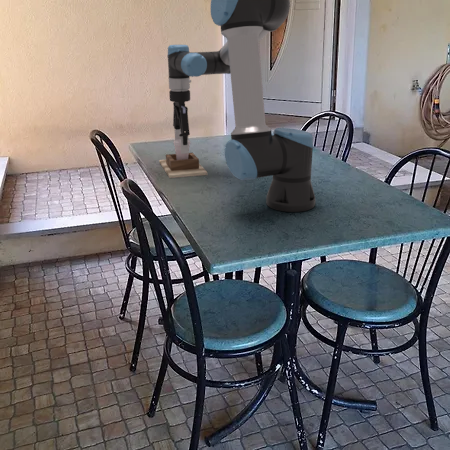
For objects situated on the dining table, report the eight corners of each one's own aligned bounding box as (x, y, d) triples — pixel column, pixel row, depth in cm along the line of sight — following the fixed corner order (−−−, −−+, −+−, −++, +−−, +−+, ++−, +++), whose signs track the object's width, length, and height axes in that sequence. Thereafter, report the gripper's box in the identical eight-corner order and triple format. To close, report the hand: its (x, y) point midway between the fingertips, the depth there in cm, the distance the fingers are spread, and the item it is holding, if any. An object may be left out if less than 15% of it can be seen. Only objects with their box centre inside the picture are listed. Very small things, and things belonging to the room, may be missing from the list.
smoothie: (192, 163, 204) (191, 127, 198) (189, 168, 198) (188, 131, 192) (175, 163, 204) (174, 127, 199) (172, 168, 198) (171, 131, 193)
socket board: (207, 174, 194) (207, 162, 192) (169, 178, 190) (169, 165, 188) (193, 159, 213) (193, 148, 211) (159, 162, 210) (158, 151, 208)
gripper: (197, 93, 181) (198, 156, 190) (183, 85, 202) (185, 142, 210) (175, 94, 179) (178, 158, 188) (163, 86, 200) (166, 143, 208)
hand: (181, 149), depth 199 cm, fingers open, 10 cm apart
